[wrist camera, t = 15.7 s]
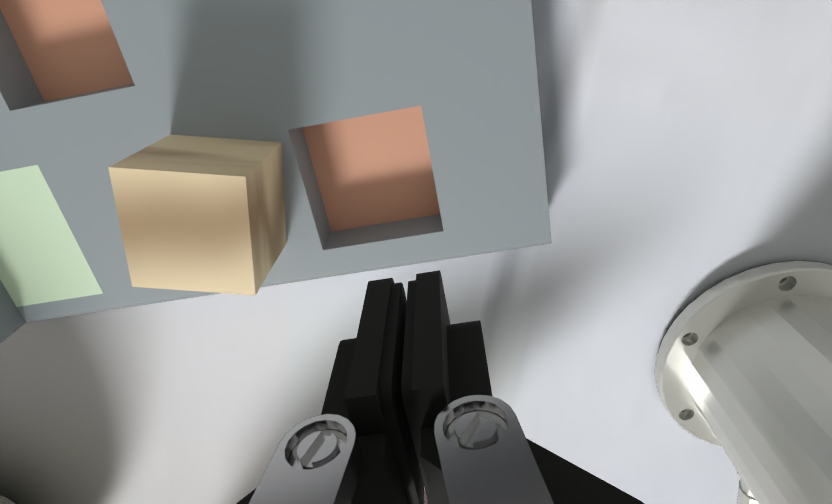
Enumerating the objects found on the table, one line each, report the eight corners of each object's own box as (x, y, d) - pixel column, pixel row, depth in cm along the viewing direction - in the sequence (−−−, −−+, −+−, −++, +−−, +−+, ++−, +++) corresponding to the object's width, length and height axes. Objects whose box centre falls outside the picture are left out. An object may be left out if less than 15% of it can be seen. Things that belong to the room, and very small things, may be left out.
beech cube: (286, 243, 26) (255, 295, 21) (184, 235, 26) (132, 286, 21) (281, 142, 24) (245, 176, 19) (170, 134, 24) (108, 167, 19)
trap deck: (541, 223, 28) (560, 262, 24) (40, 301, 31) (-20, 347, 27) (502, -210, 20) (520, -262, 16) (-160, -47, 23) (-285, -56, 19)
